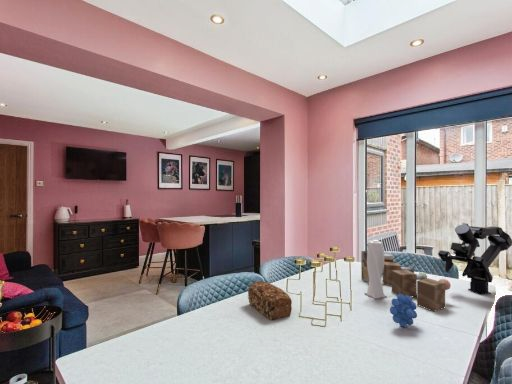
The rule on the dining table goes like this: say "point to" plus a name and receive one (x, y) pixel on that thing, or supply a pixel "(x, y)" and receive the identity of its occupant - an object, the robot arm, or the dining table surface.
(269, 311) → the bread
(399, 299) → the grapes
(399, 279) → the box middle
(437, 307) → the box right
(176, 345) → the dining table surface
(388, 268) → the box left
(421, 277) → the button sage
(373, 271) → the skyscraper
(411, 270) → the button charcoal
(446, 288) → the button terracotta
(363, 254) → the coffee box
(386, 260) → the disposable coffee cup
